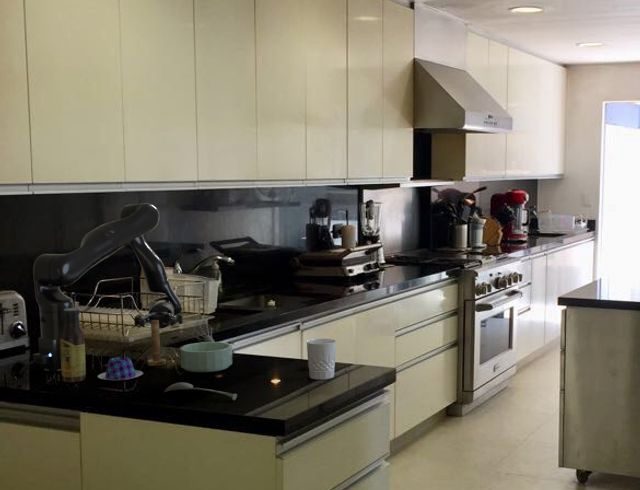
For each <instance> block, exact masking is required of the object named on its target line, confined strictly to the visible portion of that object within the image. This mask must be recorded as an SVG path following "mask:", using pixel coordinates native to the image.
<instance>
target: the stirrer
mask: <svg viewBox="0 0 640 490" xmlns="http://www.w3.org/2000/svg"><path fill="white" fill-rule="evenodd" d="M150 329H151V331H150V332H151V351H152V353H151V354H152V358H151V359H148V360H147V366H149V367H161V366H165V365H166V364H167V359H166V358H161V339H160V328H159V320H152V321H151V326H150Z"/></svg>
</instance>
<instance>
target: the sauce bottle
mask: <svg viewBox="0 0 640 490" xmlns="http://www.w3.org/2000/svg"><path fill="white" fill-rule="evenodd" d="M63 315H64V327H63V330H62V334H61V337H60V352H61V372H60V373H61V376H62V377H61V378H62V379H61V380H62V382H64V383H71V384H72V383H79V382H84V381H86V374H87V370H86V344H85V333H84V331H83V329H82V328H81V326H80V308H77V307H74V308H67V309H64V310H63Z"/></svg>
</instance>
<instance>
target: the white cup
mask: <svg viewBox="0 0 640 490" xmlns="http://www.w3.org/2000/svg"><path fill="white" fill-rule="evenodd" d="M336 342H337V341H336V340H335V339H332V338H313V339H309V340H307V341H306V353H307V364H308V365H307V366H308V370H309V371H308V372H309V373H308V374H309V378H310V379H311V380H316V381H317V380H319V381H320V380H321V381H322V380H323V381H324V380H330V379H333V378H335V367H336V347H337V346H336V345H337V344H336Z"/></svg>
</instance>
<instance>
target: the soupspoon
mask: <svg viewBox="0 0 640 490" xmlns="http://www.w3.org/2000/svg"><path fill="white" fill-rule="evenodd" d="M176 390H189V391H201V392H202V391H203V392H208V393H216V394H221V395H224V396H225V397H226V396H227V397H228V398H230V399H231V400H232V401H236V399H237V398H238V394H237V393H231V392H227V391H226V392H225V391H221V390H214V389H208V388H202V387H194V385H193V384H191V383H189V382H184V381H183V382H181V381H180V382H176V383H173V384H171V385H169V386H168V387H166V389H165V390H164V391H163V393H167V392H170V391H176Z"/></svg>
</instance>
